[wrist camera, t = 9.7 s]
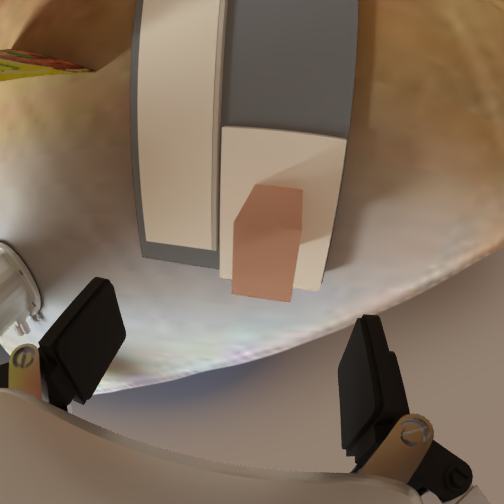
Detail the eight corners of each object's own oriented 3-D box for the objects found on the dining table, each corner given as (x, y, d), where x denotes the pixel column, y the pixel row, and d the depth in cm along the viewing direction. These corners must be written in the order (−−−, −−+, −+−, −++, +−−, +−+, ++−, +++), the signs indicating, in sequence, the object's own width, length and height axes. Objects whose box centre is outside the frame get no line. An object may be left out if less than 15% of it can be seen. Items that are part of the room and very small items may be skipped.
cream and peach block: (318, 283, 22) (319, 352, 16) (223, 270, 23) (194, 332, 17) (344, 138, 17) (366, 160, 11) (226, 125, 17) (184, 141, 11)
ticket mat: (321, 272, 23) (322, 288, 22) (149, 248, 25) (138, 260, 23) (354, -48, 10) (358, -60, 9) (153, -42, 12) (140, -50, 10)
